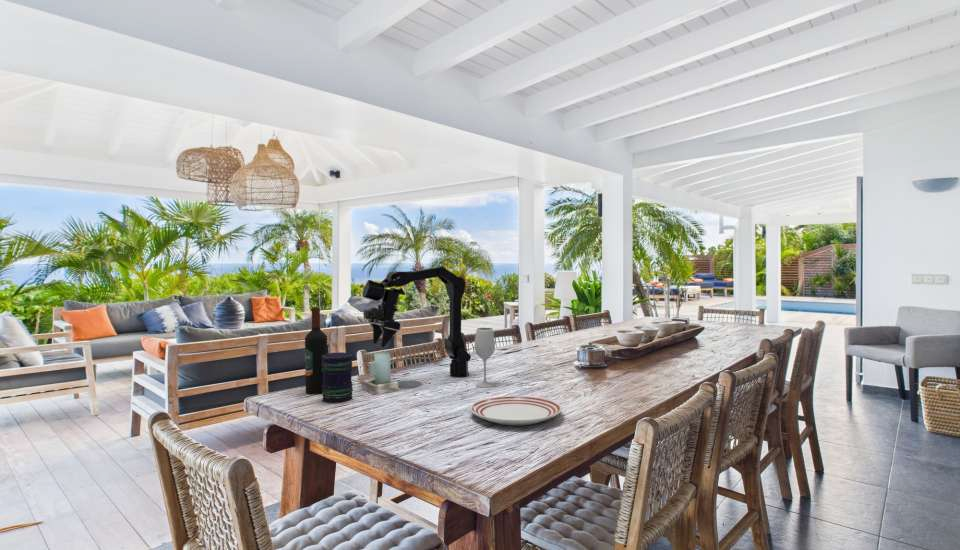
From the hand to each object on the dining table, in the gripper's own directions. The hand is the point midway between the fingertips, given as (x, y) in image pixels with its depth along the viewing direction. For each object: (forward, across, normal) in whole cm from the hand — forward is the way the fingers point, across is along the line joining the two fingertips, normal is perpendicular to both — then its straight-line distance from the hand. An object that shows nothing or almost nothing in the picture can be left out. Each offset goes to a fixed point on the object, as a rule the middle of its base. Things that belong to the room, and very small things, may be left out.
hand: (378, 345), depth 190 cm
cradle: (+15, +6, +3) cm, 16 cm away
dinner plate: (+8, +56, +27) cm, 63 cm away
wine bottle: (+21, -3, -17) cm, 27 cm away
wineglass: (+5, +19, +37) cm, 42 cm away
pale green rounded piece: (+15, +6, +3) cm, 16 cm away
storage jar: (+20, +11, -13) cm, 26 cm away
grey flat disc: (+12, +4, +13) cm, 18 cm away
